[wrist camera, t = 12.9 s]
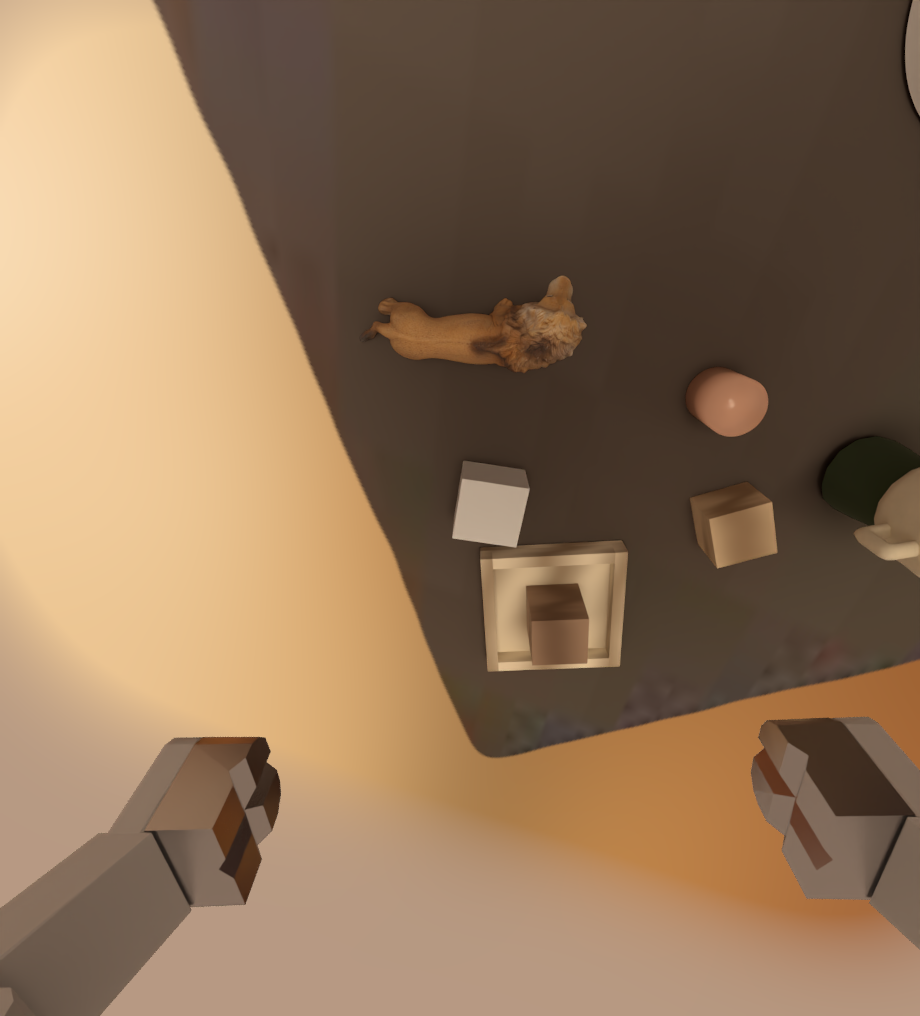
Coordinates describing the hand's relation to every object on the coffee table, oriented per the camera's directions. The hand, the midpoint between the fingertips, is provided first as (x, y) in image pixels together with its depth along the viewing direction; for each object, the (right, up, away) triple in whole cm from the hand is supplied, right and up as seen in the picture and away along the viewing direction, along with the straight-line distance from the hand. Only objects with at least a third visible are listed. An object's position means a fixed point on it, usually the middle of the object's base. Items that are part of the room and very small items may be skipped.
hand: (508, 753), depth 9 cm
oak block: (+21, +4, +34) cm, 40 cm away
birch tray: (+7, -4, +38) cm, 39 cm away
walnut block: (+7, -5, +38) cm, 39 cm away
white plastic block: (+2, +5, +34) cm, 35 cm away
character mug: (+30, +7, +32) cm, 45 cm away
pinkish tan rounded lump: (+18, +13, +30) cm, 37 cm away
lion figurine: (0, +18, +28) cm, 33 cm away
